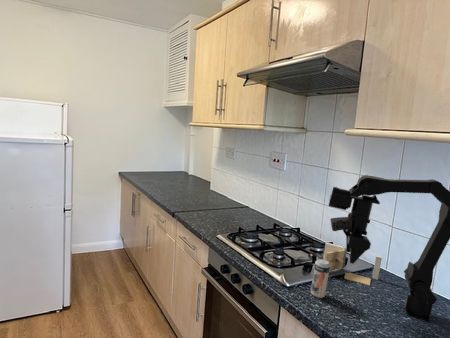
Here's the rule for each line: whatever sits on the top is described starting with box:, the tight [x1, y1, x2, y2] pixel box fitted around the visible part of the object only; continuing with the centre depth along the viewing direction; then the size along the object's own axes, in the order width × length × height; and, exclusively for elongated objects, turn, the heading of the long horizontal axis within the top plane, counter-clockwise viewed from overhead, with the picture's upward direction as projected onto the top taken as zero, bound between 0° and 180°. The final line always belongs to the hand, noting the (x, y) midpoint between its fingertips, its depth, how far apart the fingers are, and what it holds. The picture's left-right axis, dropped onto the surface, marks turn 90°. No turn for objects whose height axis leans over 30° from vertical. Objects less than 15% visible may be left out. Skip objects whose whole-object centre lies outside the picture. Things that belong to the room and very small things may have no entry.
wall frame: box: [322, 242, 383, 281], centre depth 126 cm, size 21×2×9 cm, turn 63°
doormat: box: [344, 272, 372, 287], centre depth 120 cm, size 9×6×1 cm, turn 63°
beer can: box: [310, 258, 330, 299], centre depth 105 cm, size 5×5×12 cm
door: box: [324, 250, 345, 272], centre depth 123 cm, size 10×2×8 cm, turn 119°
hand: (349, 257), depth 106 cm, fingers open, 9 cm apart
